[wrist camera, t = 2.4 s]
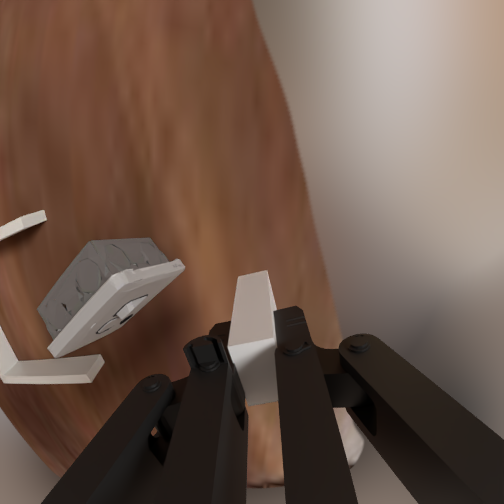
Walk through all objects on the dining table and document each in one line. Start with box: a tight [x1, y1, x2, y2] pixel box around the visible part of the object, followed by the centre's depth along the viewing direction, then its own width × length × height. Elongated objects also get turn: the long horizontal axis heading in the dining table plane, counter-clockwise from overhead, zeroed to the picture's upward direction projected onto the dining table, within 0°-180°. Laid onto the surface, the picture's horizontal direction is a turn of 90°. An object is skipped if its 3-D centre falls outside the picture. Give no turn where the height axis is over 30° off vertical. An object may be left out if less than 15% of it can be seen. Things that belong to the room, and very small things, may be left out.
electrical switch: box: [37, 238, 185, 358], centre depth 21 cm, size 9×5×9 cm, turn 131°
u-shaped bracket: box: [0, 210, 105, 384], centre depth 24 cm, size 16×15×4 cm
